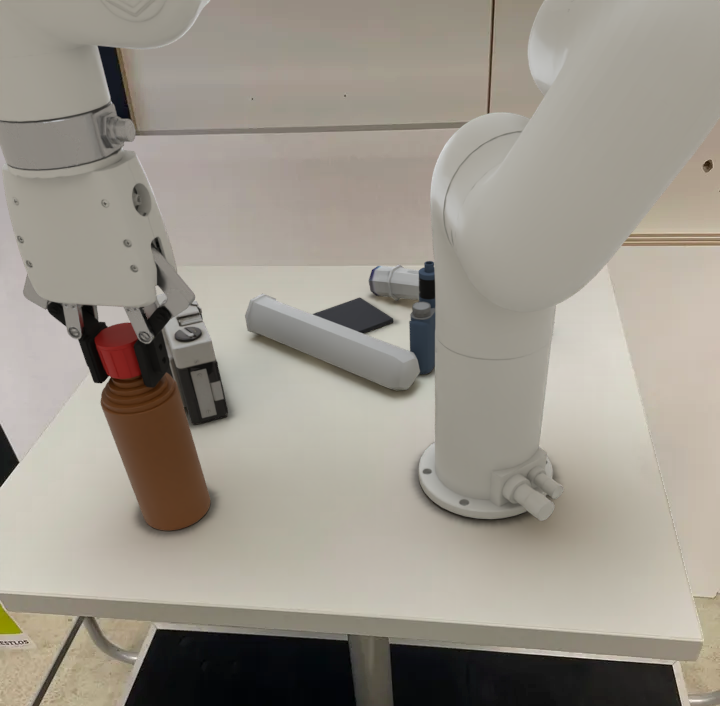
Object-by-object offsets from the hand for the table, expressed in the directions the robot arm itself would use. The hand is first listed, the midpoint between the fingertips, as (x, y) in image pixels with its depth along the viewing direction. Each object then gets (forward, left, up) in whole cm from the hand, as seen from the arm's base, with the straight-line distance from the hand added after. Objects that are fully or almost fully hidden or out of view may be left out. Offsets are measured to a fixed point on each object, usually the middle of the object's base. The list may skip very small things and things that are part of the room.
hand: (131, 374), depth 59 cm
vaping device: (+6, -34, -15) cm, 38 cm away
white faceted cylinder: (+14, -45, -15) cm, 49 cm away
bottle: (0, 0, -15) cm, 15 cm away
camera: (+18, -9, -15) cm, 25 cm away
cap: (0, 0, +1) cm, 1 cm away
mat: (+21, -33, -15) cm, 42 cm away
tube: (+14, -26, -15) cm, 33 cm away
